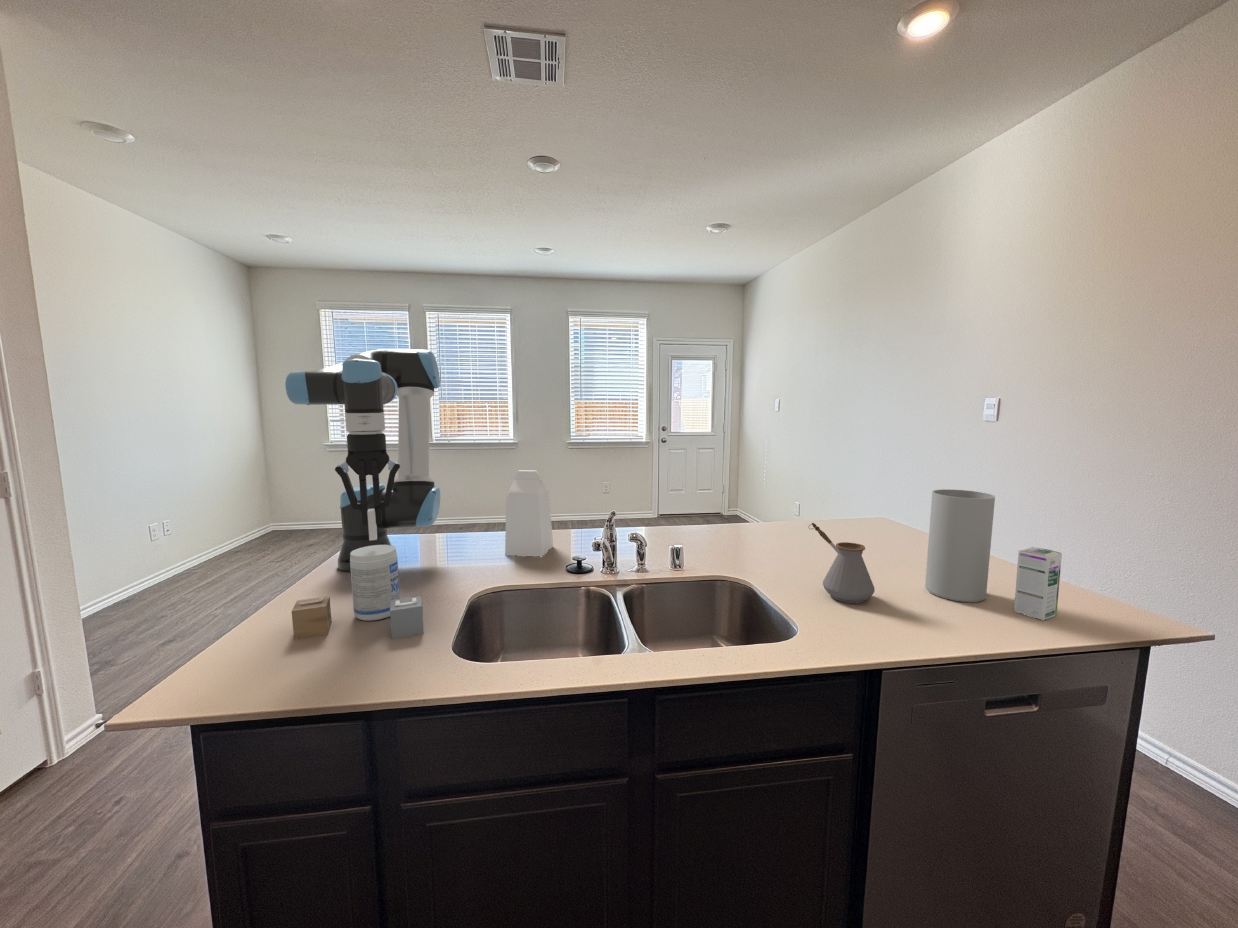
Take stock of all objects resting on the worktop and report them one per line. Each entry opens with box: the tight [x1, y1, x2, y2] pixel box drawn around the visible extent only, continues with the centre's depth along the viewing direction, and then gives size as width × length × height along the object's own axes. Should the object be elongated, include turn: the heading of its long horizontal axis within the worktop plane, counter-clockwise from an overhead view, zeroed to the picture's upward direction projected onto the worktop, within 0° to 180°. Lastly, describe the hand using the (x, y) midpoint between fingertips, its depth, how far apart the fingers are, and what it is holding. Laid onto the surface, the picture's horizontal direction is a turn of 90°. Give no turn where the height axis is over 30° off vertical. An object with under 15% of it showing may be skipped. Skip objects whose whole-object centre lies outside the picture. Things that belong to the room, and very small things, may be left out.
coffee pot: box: [808, 522, 876, 604], centre depth 125 cm, size 21×12×15 cm, turn 13°
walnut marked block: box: [291, 595, 333, 640], centre depth 104 cm, size 6×6×6 cm
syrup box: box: [1013, 546, 1063, 621], centre depth 110 cm, size 6×6×14 cm
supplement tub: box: [350, 544, 401, 621], centre depth 112 cm, size 10×10×15 cm
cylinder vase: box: [924, 488, 996, 603], centre depth 122 cm, size 12×12×25 cm
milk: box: [504, 469, 554, 557], centre depth 159 cm, size 12×12×26 cm
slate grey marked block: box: [389, 595, 425, 640], centre depth 104 cm, size 6×6×6 cm
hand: (373, 538), depth 111 cm, fingers closed
